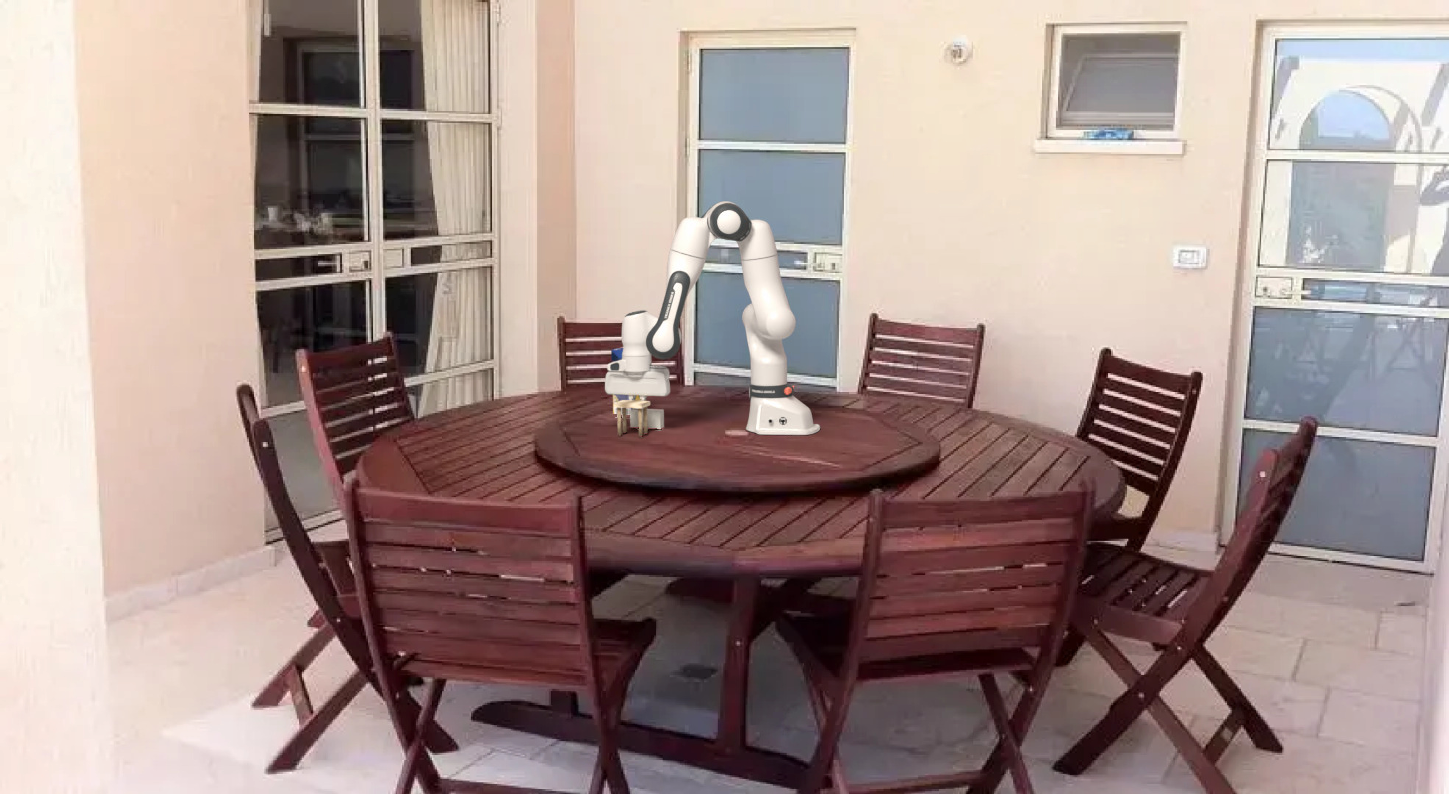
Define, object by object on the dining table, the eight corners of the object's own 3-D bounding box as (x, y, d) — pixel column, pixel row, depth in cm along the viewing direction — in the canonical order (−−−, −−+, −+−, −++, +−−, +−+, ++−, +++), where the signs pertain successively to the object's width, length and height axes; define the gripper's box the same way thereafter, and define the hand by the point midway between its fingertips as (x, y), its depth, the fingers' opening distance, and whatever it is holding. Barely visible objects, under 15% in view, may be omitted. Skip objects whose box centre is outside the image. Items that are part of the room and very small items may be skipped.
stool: (650, 434, 408) (650, 401, 407) (642, 438, 402) (641, 404, 400) (623, 432, 411) (622, 400, 409) (614, 436, 404) (613, 403, 403)
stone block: (664, 428, 417) (663, 409, 416) (660, 430, 414) (660, 411, 413) (634, 427, 420) (633, 408, 419) (630, 428, 417) (629, 409, 416)
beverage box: (645, 412, 447) (644, 346, 443) (632, 418, 436) (630, 350, 433) (626, 411, 449) (625, 346, 445) (613, 417, 439) (611, 350, 435)
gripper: (672, 364, 407) (673, 409, 409) (610, 362, 414) (611, 406, 416) (665, 366, 401) (666, 412, 403) (602, 364, 408) (603, 410, 410)
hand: (638, 409), depth 410 cm, fingers closed
